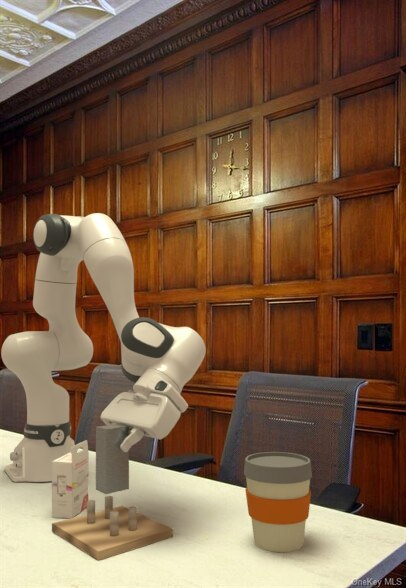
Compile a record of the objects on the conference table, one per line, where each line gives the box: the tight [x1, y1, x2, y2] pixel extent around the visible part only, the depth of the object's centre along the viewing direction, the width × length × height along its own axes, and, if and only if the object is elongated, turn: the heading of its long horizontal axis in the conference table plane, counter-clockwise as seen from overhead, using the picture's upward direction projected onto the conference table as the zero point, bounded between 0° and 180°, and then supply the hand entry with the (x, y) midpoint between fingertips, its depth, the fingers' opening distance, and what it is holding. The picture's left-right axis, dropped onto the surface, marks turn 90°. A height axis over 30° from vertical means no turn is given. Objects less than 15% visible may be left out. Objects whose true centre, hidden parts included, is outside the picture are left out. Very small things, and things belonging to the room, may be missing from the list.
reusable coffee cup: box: [243, 451, 313, 553], centre depth 99 cm, size 12×13×15 cm
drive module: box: [95, 424, 130, 495], centre depth 104 cm, size 4×5×12 cm
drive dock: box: [51, 495, 174, 561], centre depth 104 cm, size 18×16×6 cm
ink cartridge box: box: [51, 439, 90, 519], centre depth 117 cm, size 9×5×15 cm, turn 168°
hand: (113, 447), depth 105 cm, fingers closed on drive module, 4 cm apart
